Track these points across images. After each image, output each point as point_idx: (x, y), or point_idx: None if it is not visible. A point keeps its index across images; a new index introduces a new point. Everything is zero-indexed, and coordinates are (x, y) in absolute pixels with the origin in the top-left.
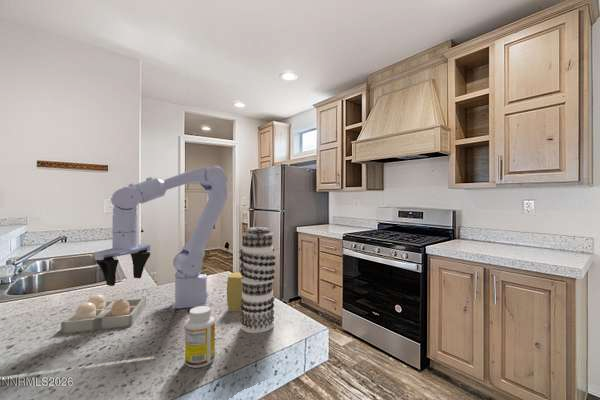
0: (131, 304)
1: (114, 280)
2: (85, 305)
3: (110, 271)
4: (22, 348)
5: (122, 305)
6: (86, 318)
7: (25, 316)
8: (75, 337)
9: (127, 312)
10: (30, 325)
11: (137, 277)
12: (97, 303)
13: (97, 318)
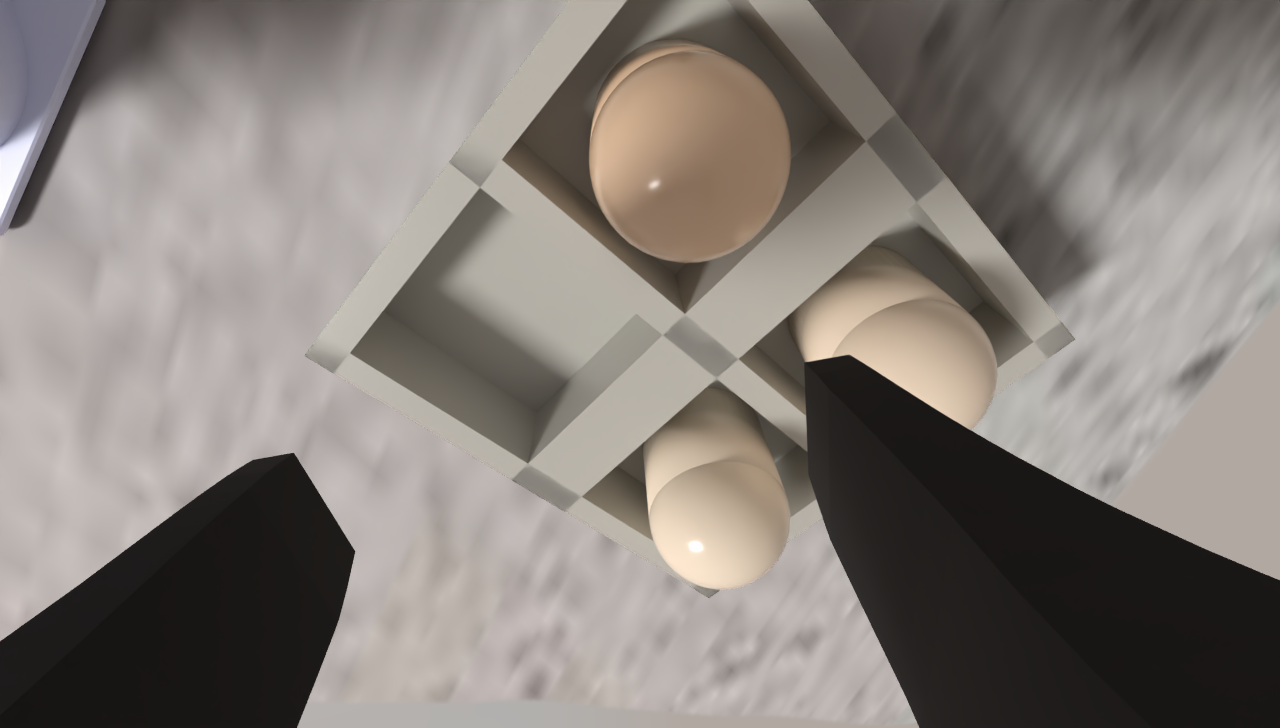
0: (454, 383)
1: (866, 399)
2: (972, 372)
3: (1202, 550)
4: (1220, 279)
5: (722, 73)
6: (925, 278)
7: (882, 695)
8: (1009, 155)
9: (647, 54)
10: None
11: (307, 495)
12: (748, 467)
13: (910, 163)
